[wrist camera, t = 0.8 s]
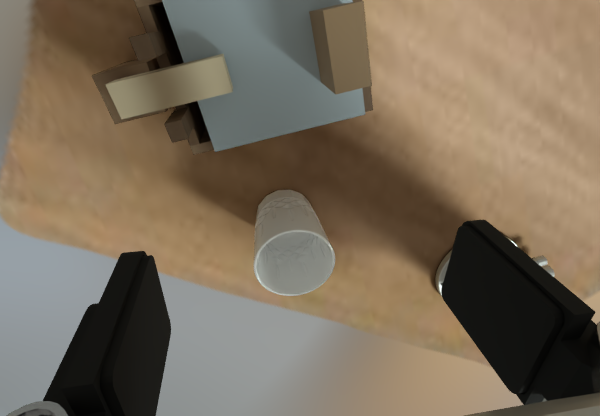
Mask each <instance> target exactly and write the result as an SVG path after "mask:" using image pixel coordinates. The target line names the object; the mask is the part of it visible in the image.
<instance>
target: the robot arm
mask: <svg viewBox="0 0 600 416" xmlns="http://www.w3.org/2000/svg"><path fill="white" fill-rule="evenodd" d="M544 265H545V266H544ZM435 283H436V287H437V290H438V292H439V293H440V295H441V296H442V297H443V299H444V301H445V303H446V304H447V305H448V307H449V308H450V309H451V311H452V312H453V314H454V315H455V316H456V318H457V319H458V320H459V322H460V323H461V325H462V326H463V327H464V329H465V330H466V332H467V333H468V334H469V336H470V337H471V338H472V340H473V341H474V343H475V344H476V345H477V347H478V348H479V349H480V351H481V352H482V354H483V355H484V356H485V358H486V359H487V361H488V362H489V363H490V365H491V366H492V367H493V369H494V370H495V371H496V373H497V374H498V376H499V377H500V378H501V380H502V381H503V383H504V384H505V385H506V387H507V388H508V389H509V390H510V391H511V392H512V393H514V394H516V395H517V396H518V397H519V399H520V400H521V402H522V403H523V404H524V405H522V406H516V407H510V408H504V409H499V410H493V411H487V412H482V413H476V414H470V415H465V416H600V322H599V323H598V324H597V325H596V324H595V323H594V322H593V321H592V320H591V319H592V317H593V315H594V314H595V311H593V310H592V309H591V308H590V307H589V306H588V305H586V304H585V303H584V302H583V301H582V300H580V299H579V298H578V297H577V296H576V295H575V294H573V293H572V292H571V291H570V290H569V289H567V288H566V287H565V286H564V285H563V284H561V283H560V282H559V281H558V280H557V279H555V278H554V271H553V269H552V268H551V267H550V266H548V265H547V259H546V258H545V257H544V256H543V255H542V256H538V257H534V258H530V257H529V256H528V255H527V254H526V253H524V252H523V251H522V250H521V249H520V248H519V247H518V246H517V244H516V243H514V242H513V241H512V240H511V239H509V238H508V237H506V236H504V235H503V234H502V233H500V232H499V231H498V230H497V229H496V228H495V227H493V226H492V225H491V224H490V223H489V222H487V221H486V220H474V221H466V222H464V223H463V225H462V226H461V227H459V228H458V231H457V235H456V238H455V242H454V245H453V249H452V250H451V251H450V252H449V253H448V254H447V255H446V256H445V258H444V259H443V260H442V262H441V263H440V265H439V267H438V270H437V273H436V280H435ZM170 325H171V324H170V319H169V316H168V312H167V308H166V304H165V300H164V296H163V292H162V288H161V284H160V280H159V276H158V272H157V268H156V264H155V260H154V257H153V256H152V255H150V256H147V255H146V253H145V252H144V251H138V252H127V253H122V254H121V255H120V257H119V259H118V262H117V264H116V266H115V268H114V271H113V273H112V275H111V277H110V279H109V282H108V284H107V286H106V288H105V291H104V293H103V295H102V297H101V299H100V302H99V303H98V304H92V305H90V306H89V307H88V309H87V310H86V312H85V314H84V316H83V318H82V320H81V322H80V325H79V327H78V329H77V331H76V333H75V335H74V337H73V339H72V341H71V343H70V345H69V348H68V349H67V352H66V354H65V356H64V358H63V360H62V362H61V364H60V366H59V368H58V370H57V372H56V375H55V376H54V379H53V381H52V383H51V385H50V387H49V389H48V391H47V393H46V395H45V397H44V399H43V401H41V402H35V403H31V404H28V405H25V406H23V407H21V408H19V409H17V410H15V411H13V412H11V413H9V414H8V415H7V416H155V415H156V410H157V405H158V399H159V394H160V388H161V383H162V378H163V373H164V367H165V362H166V356H167V351H168V346H169V340H170V334H171V326H170Z"/></svg>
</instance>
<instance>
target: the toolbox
mask: <svg viewBox="0 0 600 416" xmlns="http://www.w3.org/2000/svg"><path fill="white" fill-rule="evenodd" d="M134 1H135V4H136V7H137V9H138V12H139V14H140V17H141V20H142V22H143V25H144V27H145V30H146V34H142V35H138V36H134V37H130V38H129V39H130V42H131V44H132V46H133V49H134V51H135V54H136V56H137V59H138V60H133V61H129V62H125V63H123V64H120V65H117V66H115V67H112V68H110V69H107V70H105V71H102V72H100V73H97V74H94V75H92V78H93V80H94V82H95V84H96V86H97V88H98V90H99V92H100V94H101V96H102V98H103V100H104V102H105V104H106V107H107V109H108V111H109V113H110V115H111V117H112V119H113V121H114V123H115V124H118V123H122V122H126V121H130V120H134V119H138V118H142V117H146V116H150V115H154V114H158V113H162V112H166V111H167V110H168V109H169V108H166V109H162V110H158V111H154V112H150V113H146V114H142V115H138V116H134V117H130V118H126V119H121V117H120V115H119V113H118V111H117V109H116V106H115V104H114V102H113V100H112V98H111V96H110V94H109V92H108V89H107V87H106V85H105V84H107V83H109V82H112V81H114V80H116V79H121V78H125V77H129V76H133V75H137V74H141V73H145V72H149V71H153V70H158V69H162V68H166V67H170V66H174V65H178V64H182V63H184V62H183V59H182V56H181V53H180V50H179V47H178V45H177V42H176V39H175V36H174V33H173V30H172V27H171V25H170V22H169V19H168V16H167V13H166V10H165V7H164V5H163V2H162V0H134ZM352 1H353V2H358V1H362V0H352ZM362 89H363V98H364V107H365V112H367V111H371V110H373V105H372V95H371V86H369V87H364V88H362ZM175 108H176V110H175V111H173V113H172V114H171V116H170V117H169V118H168V120H167V121H166V123H165V127H166V129H167V132H168V134H169V137H170V139H171V141H172V143H173V142H177V141H181V140H185V139H188V142H189V144H190V147H191V149H192V152H193V154H194V155H195V154H199V153H203V152H207V151H211V150H214V147H213V144H212V142H211V139H210V136H209V133H208V130H207V127H206V124H205V122H204V119H203V116H202V113H201V110H200V107H199V104H198V102H197V101H195V102H191V103H187V104H183V105H178V106H175Z"/></svg>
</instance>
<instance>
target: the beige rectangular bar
mask: <svg viewBox="0 0 600 416" xmlns="http://www.w3.org/2000/svg"><path fill="white" fill-rule="evenodd" d="M105 85H106V87H107V89H108V92H109V94H110V96H111V98H112V100H113V102H114V104H115V106H116V109H117V111H118V113H119V115H120V117H121V119H126V118H130V117H134V116H138V115H142V114H146V113H150V112H154V111H158V110H162V109H166V108H170V107H174V106H178V105H183V104H187V103H191V102H195V101H199V100H203V99H207V98H211V97H215V96H219V95H223V94H227V93H231V92H233V85H232V81H231V78H230V75H229V71H228V68H227V64H226V61H225V57H224V54H219V55H215V56H211V57H207V58H203V59H199V60H195V61H190V62H186V63H182V64H178V65H174V66H170V67H166V68H162V69H158V70H153V71H149V72H145V73H141V74H137V75H133V76H129V77H125V78H121V79H116V80H114V81H112V82H109V83H107V84H105Z"/></svg>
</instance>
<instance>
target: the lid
mask: <svg viewBox="0 0 600 416" xmlns="http://www.w3.org/2000/svg"><path fill="white" fill-rule="evenodd" d="M162 2H163V5H164V7H165V10H166V13H167V16H168V19H169V22H170V25H171V27H172V30H173V33H174V36H175V39H176V42H177V45H178V47H179V50H180V53H181V56H182V59H183V62H184V63H186V62H190V61H195V60H199V59H203V58H207V57H211V56H215V55H219V54H224V57H225V61H226V64H227V68H228V71H229V75H230V78H231V81H232V85H233V92H231V93H227V94H223V95H219V96H215V97H211V98H207V99H203V100H199V101H197V102H198V104H199V107H200V110H201V113H202V116H203V119H204V122H205V124H206V127H207V130H208V133H209V136H210V139H211V142H212V144H213V147H214V150H215V152H217V151H221V150H225V149H229V148H233V147H237V146H241V145H245V144H249V143H253V142H257V141H261V140H265V139H269V138H273V137H277V136H281V135H285V134H289V133H293V132H297V131H301V130H305V129H309V128H313V127H317V126H321V125H325V124H329V123H333V122H337V121H341V120H345V119H349V118H353V117H357V116H361V115H365V107H364V98H363V89H362V88H364V87H369V86H372V83H371V72H370V62H369V52H368V42H367V32H366V22H365V12H364V2H363V1H358V2H353V1H352V0H162Z"/></svg>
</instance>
